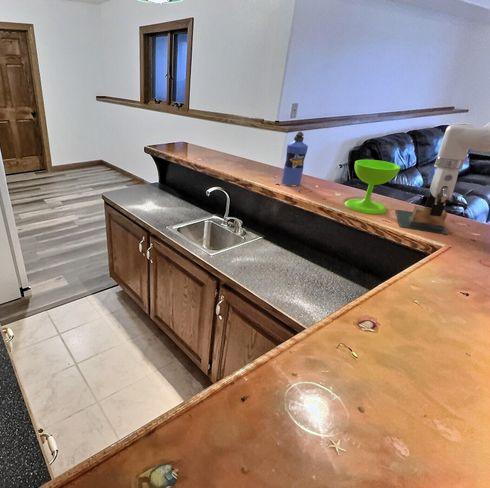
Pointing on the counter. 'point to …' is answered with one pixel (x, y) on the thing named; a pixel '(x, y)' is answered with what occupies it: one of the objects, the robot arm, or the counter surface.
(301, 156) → the water bottle
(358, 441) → the counter surface
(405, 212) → the chalkboard
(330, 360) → the counter surface
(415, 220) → the eraser
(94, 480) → the counter surface
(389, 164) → the wineglass
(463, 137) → the robot arm
